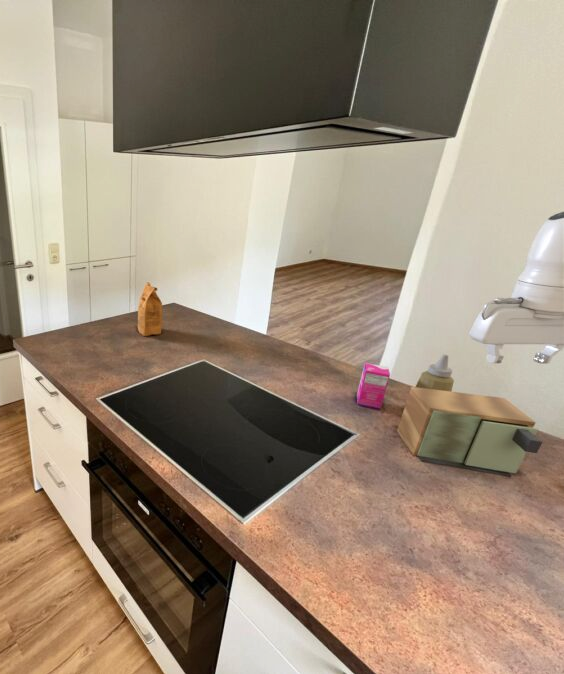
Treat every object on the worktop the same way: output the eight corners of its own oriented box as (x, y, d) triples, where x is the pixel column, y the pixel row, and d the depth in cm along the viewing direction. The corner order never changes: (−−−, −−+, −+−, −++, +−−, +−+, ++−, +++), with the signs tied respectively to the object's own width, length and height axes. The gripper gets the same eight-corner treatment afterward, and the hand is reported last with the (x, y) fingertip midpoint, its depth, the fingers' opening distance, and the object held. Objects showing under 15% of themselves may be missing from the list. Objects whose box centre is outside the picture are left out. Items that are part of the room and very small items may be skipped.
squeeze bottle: (398, 409, 102) (417, 351, 95) (419, 404, 104) (439, 347, 98) (429, 425, 95) (452, 363, 88) (450, 419, 97) (474, 359, 90)
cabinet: (483, 444, 87) (504, 398, 83) (516, 477, 77) (542, 427, 72) (396, 430, 93) (411, 386, 88) (416, 460, 82) (434, 412, 78)
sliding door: (514, 471, 78) (535, 428, 74) (529, 486, 74) (553, 441, 69) (463, 463, 80) (482, 420, 76) (475, 477, 76) (495, 433, 72)
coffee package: (155, 326, 169) (157, 280, 161) (163, 336, 158) (165, 287, 150) (135, 328, 168) (135, 281, 160) (141, 337, 156) (142, 288, 148)
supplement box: (355, 396, 109) (364, 362, 105) (379, 401, 106) (389, 366, 102) (356, 405, 104) (365, 369, 100) (380, 410, 101) (391, 374, 97)
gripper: (504, 302, 67) (478, 368, 72) (620, 301, 66) (586, 369, 71) (474, 293, 73) (451, 355, 78) (580, 293, 72) (551, 356, 77)
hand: (516, 362), depth 74 cm, fingers open, 8 cm apart
